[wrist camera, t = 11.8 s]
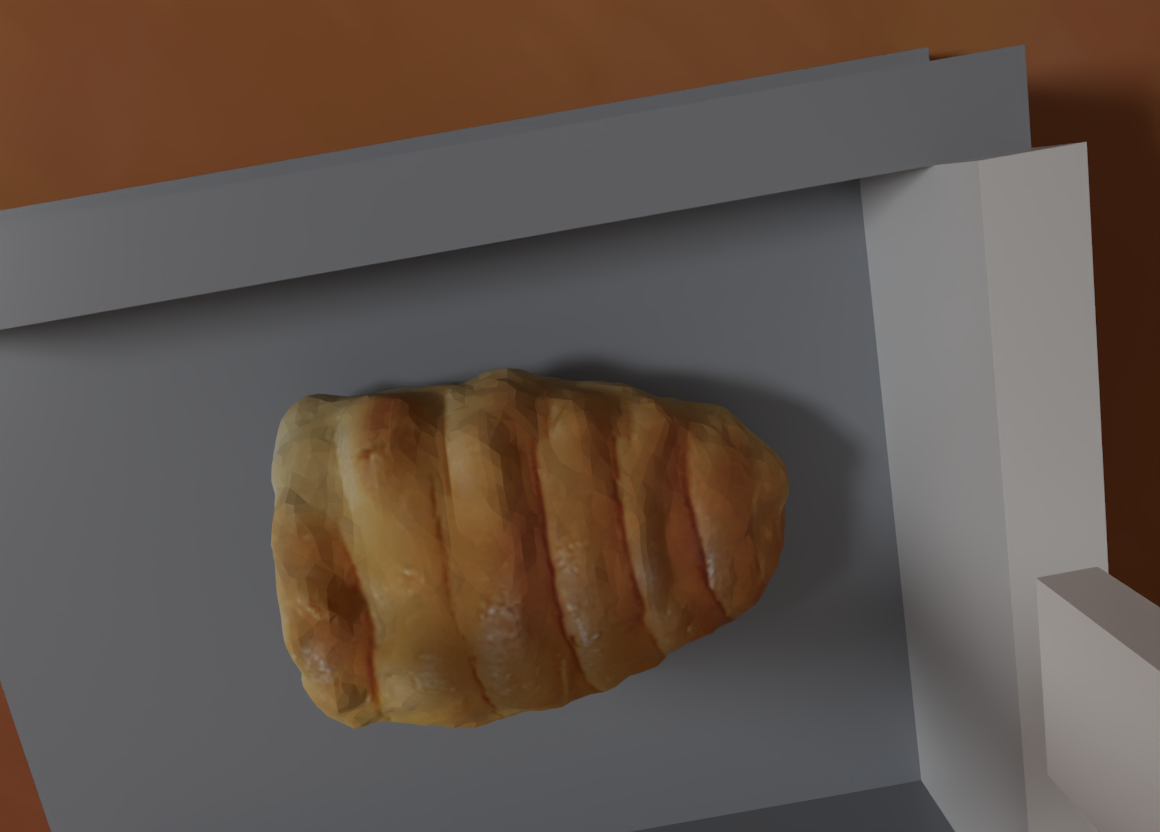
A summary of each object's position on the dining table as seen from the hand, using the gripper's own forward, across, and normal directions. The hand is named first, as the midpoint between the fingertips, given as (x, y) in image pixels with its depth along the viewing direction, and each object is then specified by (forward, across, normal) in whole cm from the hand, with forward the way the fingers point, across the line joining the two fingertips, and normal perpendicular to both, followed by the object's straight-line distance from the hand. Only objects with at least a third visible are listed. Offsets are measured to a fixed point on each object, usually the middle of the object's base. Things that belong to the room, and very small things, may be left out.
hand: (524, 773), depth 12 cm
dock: (+9, -1, 0) cm, 9 cm away
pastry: (+8, 0, +1) cm, 8 cm away
